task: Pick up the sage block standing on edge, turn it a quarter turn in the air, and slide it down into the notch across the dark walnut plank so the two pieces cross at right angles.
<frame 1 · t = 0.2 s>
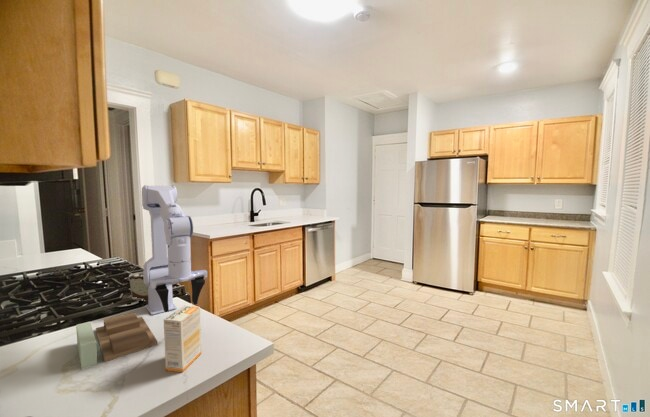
hand: (180, 307, 84), 10 cm above the table, tool pointing down, fingers open, 7 cm apart
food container: (149, 298, 115), on the table
supplement box: (184, 362, 75), on the table
sage block: (86, 354, 78), on the table
slotted plank: (125, 337, 86), on the table
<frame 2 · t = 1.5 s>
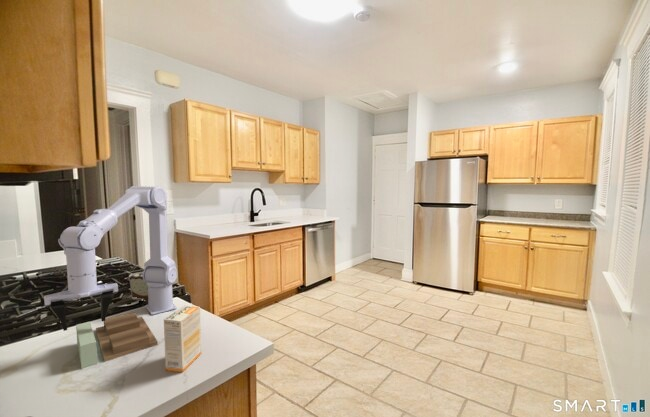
hand: (84, 324, 77), 8 cm above the table, tool pointing down, fingers open, 7 cm apart
nothing on the table moved.
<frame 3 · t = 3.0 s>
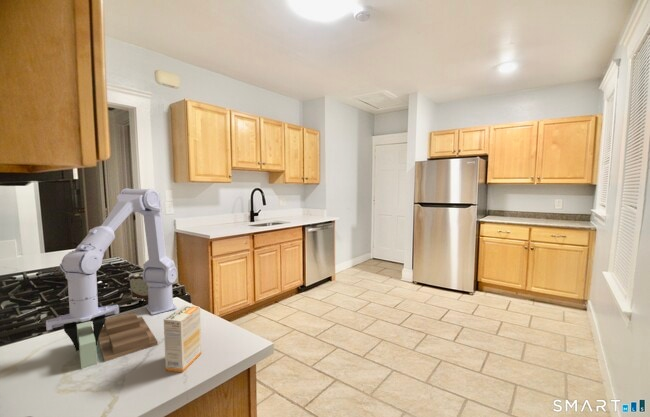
hand: (86, 347, 78), 2 cm above the table, tool pointing down, fingers closed on sage block, 3 cm apart
sage block: (86, 354, 78), on the table, touching gripper
everything else where it was.
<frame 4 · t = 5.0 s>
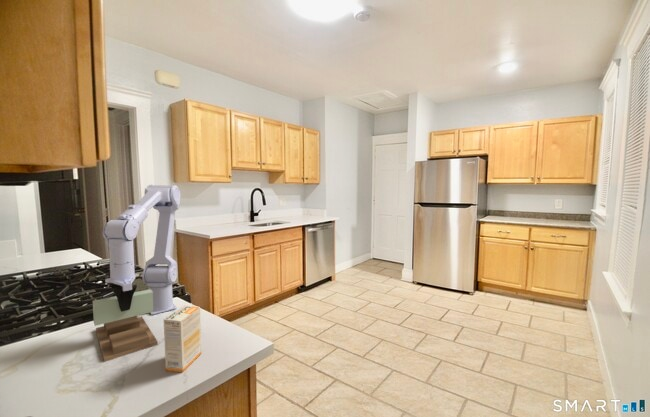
hand: (124, 308, 85), 9 cm above the table, tool pointing down, fingers closed on sage block, 3 cm apart
sage block: (124, 316, 86), point 6 cm above the table, touching gripper
everything else where it was.
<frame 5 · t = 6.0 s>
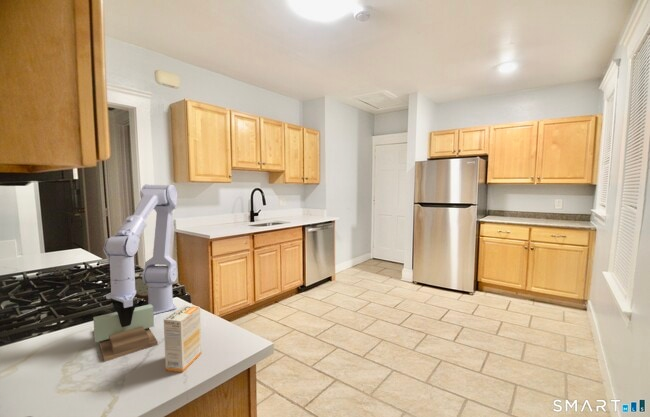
hand: (124, 323, 86), 4 cm above the table, tool pointing down, fingers closed on sage block, 3 cm apart
sage block: (125, 331, 86), point 2 cm above the table, touching gripper
everything else where it was.
when the fingers open (4 cm above the table, at t = 6.8 s): sage block stays where it is, resting on slotted plank.
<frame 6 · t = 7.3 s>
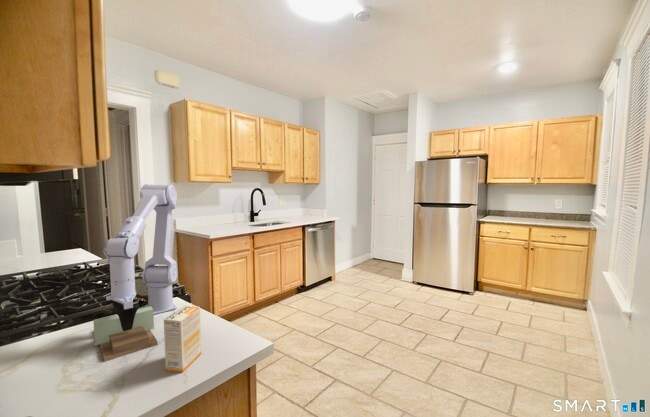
hand: (125, 324, 86), 4 cm above the table, tool pointing down, fingers open, 7 cm apart
sage block: (125, 334, 86), point 1 cm above the table, touching slotted plank
everything else where it was.
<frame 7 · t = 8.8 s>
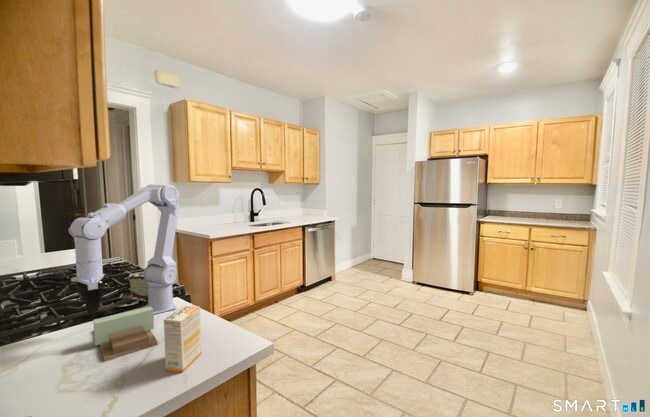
hand: (91, 307, 84), 9 cm above the table, tool pointing down, fingers open, 7 cm apart
nothing on the table moved.
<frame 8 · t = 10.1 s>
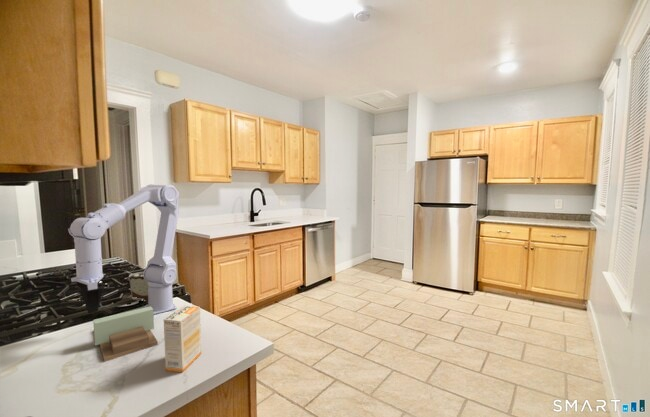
hand: (91, 307, 84), 9 cm above the table, tool pointing down, fingers open, 7 cm apart
nothing on the table moved.
at the end: sage block 0.0 cm off-centre on the slotted plank, point 1.0 cm above the slotted plank's base; sage block tilted 0°; the gripper is holding nothing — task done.
